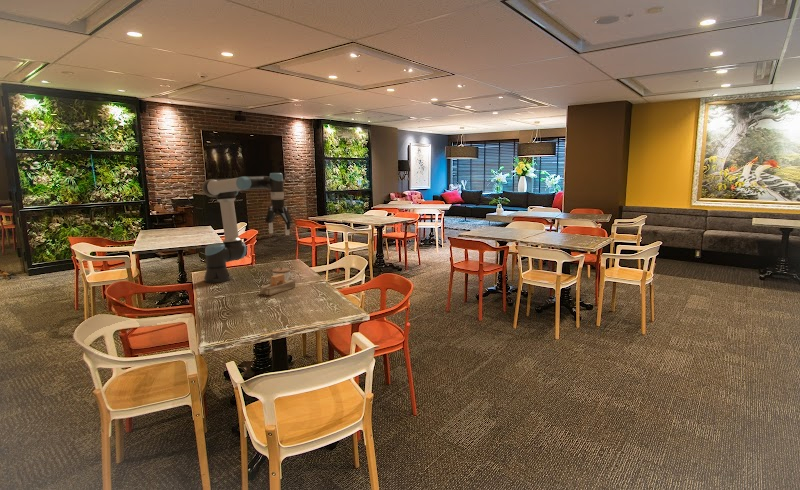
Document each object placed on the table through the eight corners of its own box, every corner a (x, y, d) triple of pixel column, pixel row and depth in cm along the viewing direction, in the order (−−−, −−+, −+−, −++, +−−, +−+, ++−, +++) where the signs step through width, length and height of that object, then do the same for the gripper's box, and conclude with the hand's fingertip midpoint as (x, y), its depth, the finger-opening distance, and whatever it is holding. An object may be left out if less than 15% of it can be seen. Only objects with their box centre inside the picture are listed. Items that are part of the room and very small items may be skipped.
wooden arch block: (271, 291, 249) (270, 276, 247) (281, 288, 255) (280, 273, 254) (275, 292, 247) (274, 277, 246) (285, 289, 254) (284, 274, 252)
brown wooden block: (260, 293, 245) (259, 286, 244) (285, 285, 262) (285, 279, 261) (270, 295, 241) (269, 288, 240) (295, 287, 258) (294, 280, 257)
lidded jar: (293, 279, 276) (292, 265, 274) (287, 283, 266) (286, 269, 264) (277, 279, 277) (276, 265, 275) (270, 283, 267) (269, 268, 265)
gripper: (257, 198, 257) (260, 233, 261) (288, 200, 245) (290, 236, 248) (267, 198, 263) (269, 231, 267) (297, 199, 251) (299, 234, 255)
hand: (279, 234), depth 258 cm, fingers open, 13 cm apart
